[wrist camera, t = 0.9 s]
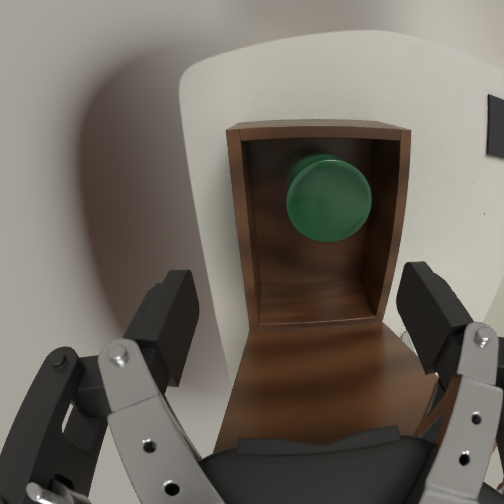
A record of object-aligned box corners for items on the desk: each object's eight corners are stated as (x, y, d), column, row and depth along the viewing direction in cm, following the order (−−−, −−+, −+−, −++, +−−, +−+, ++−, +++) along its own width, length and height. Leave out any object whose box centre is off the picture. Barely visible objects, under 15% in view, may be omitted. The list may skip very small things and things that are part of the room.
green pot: (279, 143, 26) (284, 160, 18) (343, 142, 25) (374, 160, 18) (283, 203, 29) (287, 244, 21) (342, 201, 29) (368, 241, 21)
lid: (199, 494, 8) (215, 536, 8) (499, 441, 7) (464, 496, 7) (249, 330, 29) (251, 371, 29) (383, 322, 27) (379, 362, 28)
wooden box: (237, 123, 26) (225, 129, 19) (377, 121, 25) (411, 130, 18) (254, 286, 36) (249, 331, 29) (364, 280, 35) (382, 322, 28)
